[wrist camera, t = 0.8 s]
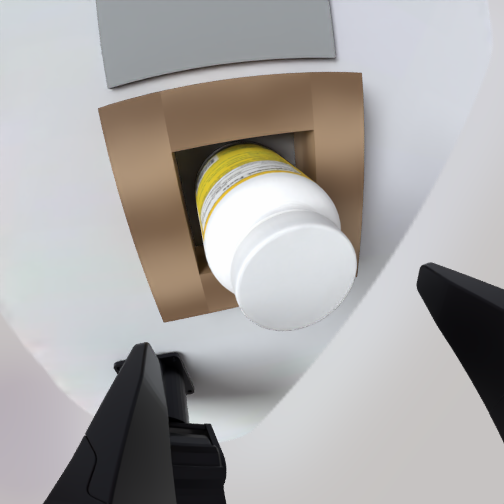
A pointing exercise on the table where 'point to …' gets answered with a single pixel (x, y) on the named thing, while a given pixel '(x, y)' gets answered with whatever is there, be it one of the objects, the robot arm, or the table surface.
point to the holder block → (216, 131)
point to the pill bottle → (272, 237)
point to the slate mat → (207, 34)
